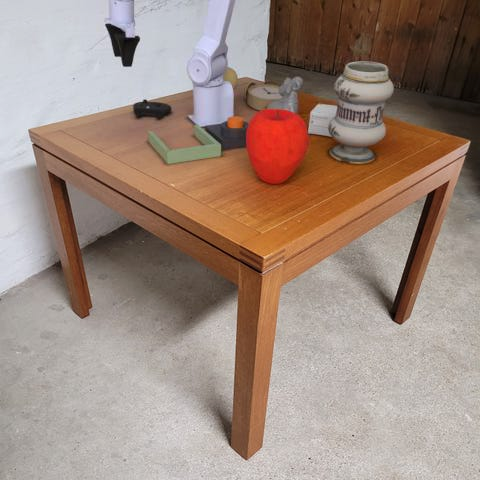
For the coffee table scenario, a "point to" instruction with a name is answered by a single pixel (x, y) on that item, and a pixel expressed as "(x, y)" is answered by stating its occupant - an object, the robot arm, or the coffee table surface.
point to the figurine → (288, 95)
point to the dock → (190, 153)
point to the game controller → (151, 109)
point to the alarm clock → (261, 94)
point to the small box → (321, 119)
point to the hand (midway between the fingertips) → (122, 61)
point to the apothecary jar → (360, 111)
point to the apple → (276, 144)
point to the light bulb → (231, 77)
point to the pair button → (235, 122)
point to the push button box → (228, 135)
